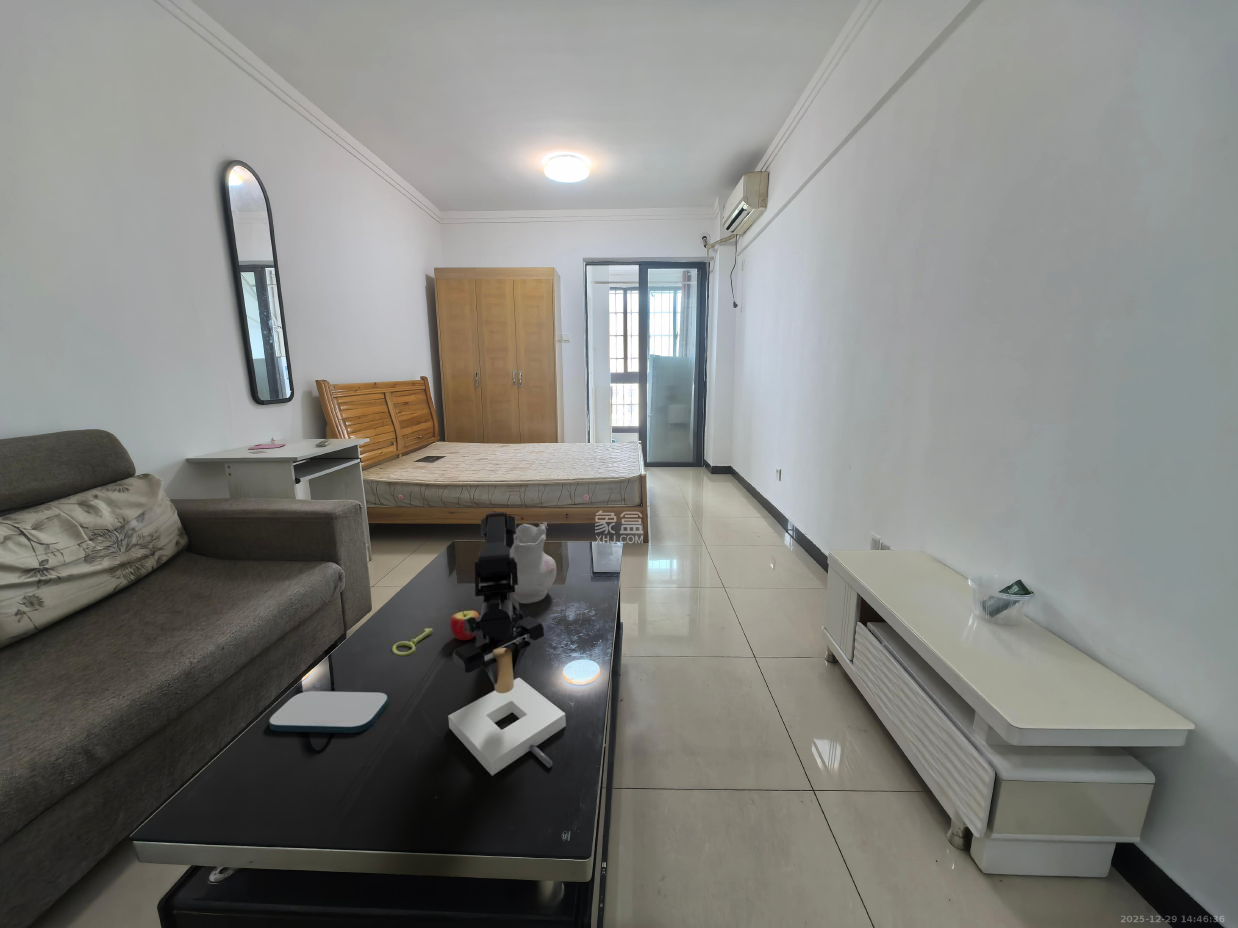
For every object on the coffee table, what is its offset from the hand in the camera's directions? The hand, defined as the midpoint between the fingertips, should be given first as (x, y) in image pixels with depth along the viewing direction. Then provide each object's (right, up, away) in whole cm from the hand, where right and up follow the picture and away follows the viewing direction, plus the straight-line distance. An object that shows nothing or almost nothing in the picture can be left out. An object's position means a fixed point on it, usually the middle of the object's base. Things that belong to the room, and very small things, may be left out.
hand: (503, 678), depth 101 cm
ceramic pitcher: (-7, 0, +62) cm, 62 cm away
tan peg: (0, -2, 0) cm, 2 cm away
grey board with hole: (+3, -12, 0) cm, 12 cm away
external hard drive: (-41, -12, +8) cm, 44 cm away
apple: (-20, -5, +38) cm, 43 cm away
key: (-34, -7, +35) cm, 50 cm away
